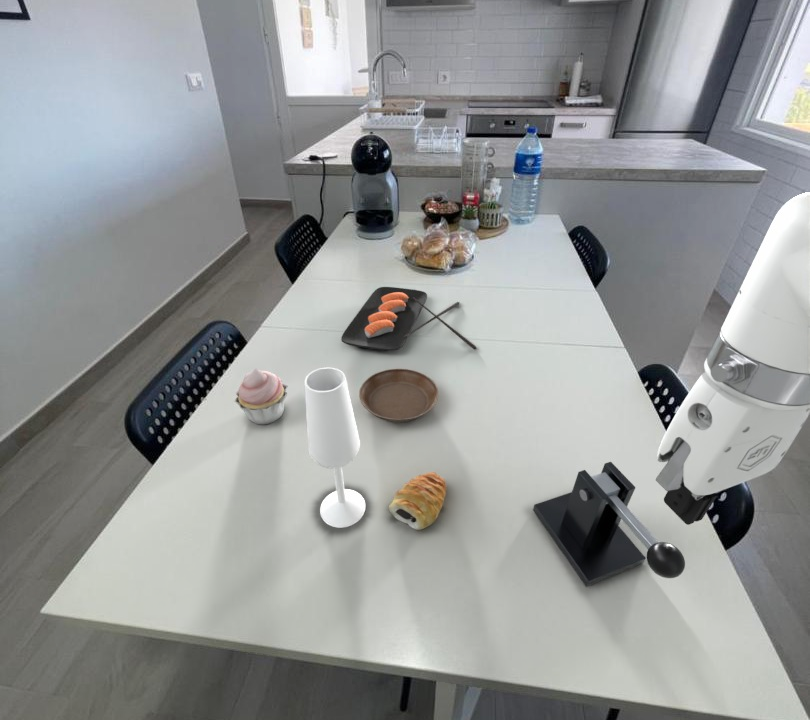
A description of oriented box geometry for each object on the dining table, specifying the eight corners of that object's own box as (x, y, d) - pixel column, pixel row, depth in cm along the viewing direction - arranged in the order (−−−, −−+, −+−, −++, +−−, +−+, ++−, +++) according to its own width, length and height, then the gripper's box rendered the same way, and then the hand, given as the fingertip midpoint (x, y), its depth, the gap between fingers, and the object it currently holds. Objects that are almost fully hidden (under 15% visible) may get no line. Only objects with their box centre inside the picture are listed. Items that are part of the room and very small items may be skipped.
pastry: (419, 472, 71) (420, 456, 69) (457, 492, 68) (459, 475, 66) (385, 515, 65) (385, 498, 62) (425, 538, 62) (426, 522, 59)
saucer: (445, 386, 89) (446, 375, 87) (426, 437, 77) (426, 426, 76) (376, 373, 92) (375, 362, 91) (347, 420, 81) (346, 409, 79)
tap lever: (685, 578, 49) (698, 560, 46) (659, 589, 48) (671, 571, 45) (603, 485, 59) (610, 467, 57) (580, 493, 58) (587, 474, 56)
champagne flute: (356, 532, 62) (341, 402, 48) (312, 521, 64) (285, 392, 50) (372, 494, 68) (362, 367, 54) (331, 484, 69) (311, 358, 55)
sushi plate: (378, 291, 122) (377, 278, 120) (488, 305, 116) (489, 291, 114) (337, 348, 100) (335, 334, 98) (470, 369, 93) (472, 354, 91)
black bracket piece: (643, 563, 58) (674, 507, 52) (585, 586, 56) (610, 531, 49) (583, 492, 68) (603, 437, 61) (532, 510, 65) (547, 454, 58)
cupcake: (297, 397, 86) (289, 355, 80) (284, 432, 79) (274, 387, 73) (250, 395, 87) (239, 353, 81) (232, 429, 79) (218, 385, 73)
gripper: (739, 419, 29) (650, 569, 40) (886, 372, 33) (770, 519, 44) (652, 357, 35) (595, 502, 46) (787, 323, 39) (705, 464, 50)
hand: (681, 510), depth 45 cm, fingers closed
